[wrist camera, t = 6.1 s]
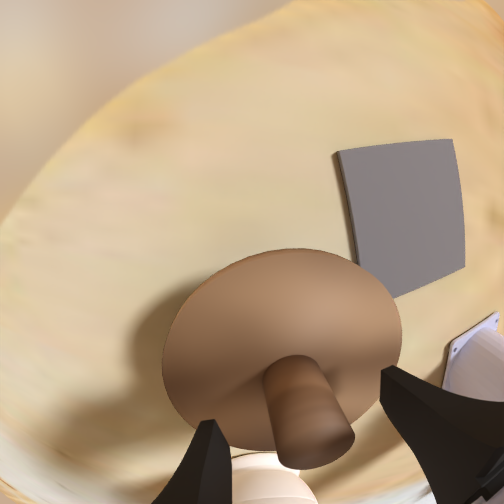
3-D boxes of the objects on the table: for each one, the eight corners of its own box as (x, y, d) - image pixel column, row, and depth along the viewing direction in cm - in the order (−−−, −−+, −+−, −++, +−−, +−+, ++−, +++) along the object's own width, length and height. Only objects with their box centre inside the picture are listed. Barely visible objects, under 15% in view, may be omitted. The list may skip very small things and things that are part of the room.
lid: (385, 406, 14) (423, 461, 9) (205, 451, 14) (204, 520, 9) (390, 225, 12) (476, 248, 6) (131, 279, 11) (73, 341, 6)
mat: (461, 265, 17) (465, 266, 17) (362, 306, 17) (365, 309, 17) (448, 139, 15) (452, 138, 15) (336, 151, 15) (339, 150, 14)
